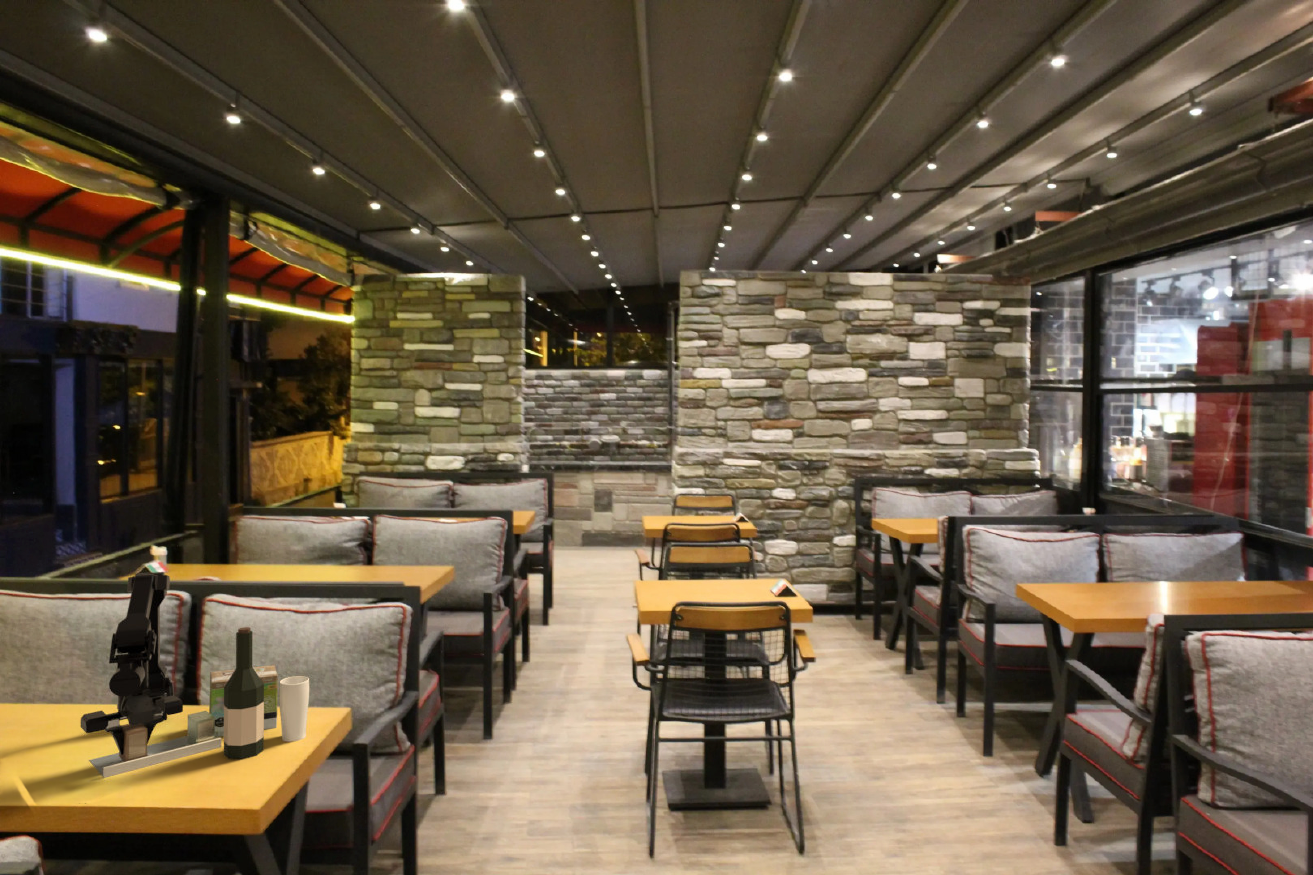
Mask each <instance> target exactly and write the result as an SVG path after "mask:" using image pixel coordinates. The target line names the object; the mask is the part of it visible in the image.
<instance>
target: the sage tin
mask: <svg viewBox="0 0 1313 875" xmlns="http://www.w3.org/2000/svg"><path fill="white" fill-rule="evenodd" d="M187 736H188V740H187V744H188V743H189V744H190V745H193V744H197V743H201V742H205V741H209V740H213V739H216V737H215V717H214V716H213V715H211V714H210V713H209V711H207V710H204V711H202V710H201V711H198V712H194V713H190V714H187Z"/></svg>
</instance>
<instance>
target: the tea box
mask: <svg viewBox="0 0 1313 875" xmlns="http://www.w3.org/2000/svg"><path fill="white" fill-rule="evenodd" d="M252 667H253V669H254V670H255V672H256V673H257V675H258V676H259V678H260V679H261V680H262V682H263V683H264V730H271V729H276V728H277V726H278V693H279V687H278V686H279V685H278V684H279V675H278V672H277V669H276V667H275V665H274V664H272V665H263V666H252ZM235 669H236V668H235ZM235 669H226V670H225V669H224V670H218V671H210V676H209V709H208V713H210V714H211V715H213V716H214V717H215V738H221V737H224V687H225V685H226V684H227V682H228V680H229V679H230V677H231V676H232V674H233V673H234V671H235Z"/></svg>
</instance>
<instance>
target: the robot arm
mask: <svg viewBox="0 0 1313 875" xmlns="http://www.w3.org/2000/svg"><path fill="white" fill-rule="evenodd" d="M170 584H171V578H170V576H169V575H167V574H165V571H157V572H156V571H154V572H141V573H140V572H139V573H138V572H137V573H135V575H134V576H130V577H129V576H128V577H127V593H131V594H130V597H129V598H130V599H129V603H128V608H127V612H126V617H125V618H123V619H122V620H121V621H119V622H118V624H117V628H116V630H115V633H112V637H111V644H110V652H109V659H108V664H110V665H111V664H117V667H116V670H115V671H114V674H113V675H112V676H111V678H110V679H109V682H108V686H109V690H110V691H111V692H112V694H114V695H115V696H117V704H116V709H117V711H115V712H112V713H111V712H110V713H107V714H106V713H105V712H104V711H103V710H97V711H93V712H89V713H84V714H83V715H82V716H81V717H80V728H81V729H82V730H83V732H84V733H85V734H93V733H97V732H102V731H104V732H106V733H110V734H111V736H112V738H113V740H114V743H115V744H116V747H117V750H118V753H119V752H120V754H121V755H122V754H123V752H124V746H123V737H122V729H123V727H122V726H121V725H122V724H120V721H123V720H127V722H128V724H130V725H138V724H140V723H142V724H143V725H144V726H145V727H146V728H147V745H149V741H150V739H151V737H152V734H153V731H154V729H155V727H156V725H157V724H160V723H162V722H165V721H167V720H168V716H171V715H176V714H181V713H182V712H184V704H183V700H181V699H180V698H178V697H177V696H176V695H175V689H174V682H172V680H171V677H169V676H168V668H167V667H166V666H165V665H164V663H163V662H162V660H161V616H160V615H161V604H162V603H163V601H164V599H165V598H166V596H167V595H168V594H167V593H168V591H169V590H170V586H171V585H170ZM116 653H117V654H116Z"/></svg>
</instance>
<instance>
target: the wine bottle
mask: <svg viewBox="0 0 1313 875" xmlns="http://www.w3.org/2000/svg"><path fill="white" fill-rule="evenodd" d="M253 667H254V666H253V631H252V630H251V628H250V627H247V626H246V627H245V626H244V627H239V628H238V631H237V632H235V671H234V673H233V674H232V676H231V677H230V679H229V680H228V682H227V684H226V685H225V687H224V736H223V756H224V757H225V758H226V759H227V760H239V761H240V760H245V759H250V758H253V757H257V756H258V755H259V754H261V753H262V752H263V751H264V748H265V747H264V746H265V744H264V742H265V740H264V737H265V736H264V733H265V731H264V683H263V682H262V680H261V679H260V678H259V676H258V675H257V673H256V672H255V670H254V669H253Z"/></svg>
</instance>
